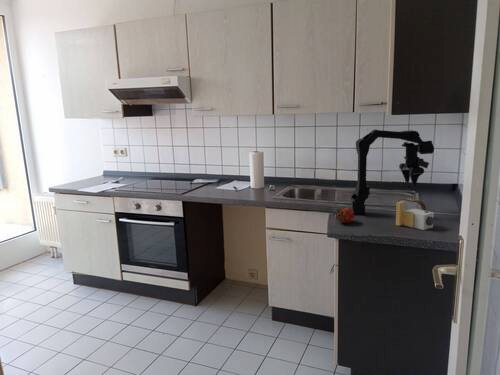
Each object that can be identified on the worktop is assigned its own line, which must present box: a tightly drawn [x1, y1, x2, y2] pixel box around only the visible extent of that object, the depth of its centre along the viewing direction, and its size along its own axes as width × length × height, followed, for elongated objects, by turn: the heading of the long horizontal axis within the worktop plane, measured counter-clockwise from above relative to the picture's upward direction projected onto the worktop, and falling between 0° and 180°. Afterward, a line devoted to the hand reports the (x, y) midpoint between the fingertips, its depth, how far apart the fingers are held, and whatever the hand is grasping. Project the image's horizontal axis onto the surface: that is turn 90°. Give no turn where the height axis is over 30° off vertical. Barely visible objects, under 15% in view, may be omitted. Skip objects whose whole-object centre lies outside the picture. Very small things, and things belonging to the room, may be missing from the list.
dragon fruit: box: [335, 206, 356, 224], centre depth 191 cm, size 8×8×12 cm
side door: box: [395, 201, 414, 228], centre depth 181 cm, size 7×4×11 cm, turn 30°
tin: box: [397, 197, 427, 212], centre depth 200 cm, size 15×3×8 cm, turn 35°
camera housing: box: [405, 209, 435, 231], centre depth 180 cm, size 11×7×8 cm, turn 30°
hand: (410, 184), depth 203 cm, fingers open, 9 cm apart
